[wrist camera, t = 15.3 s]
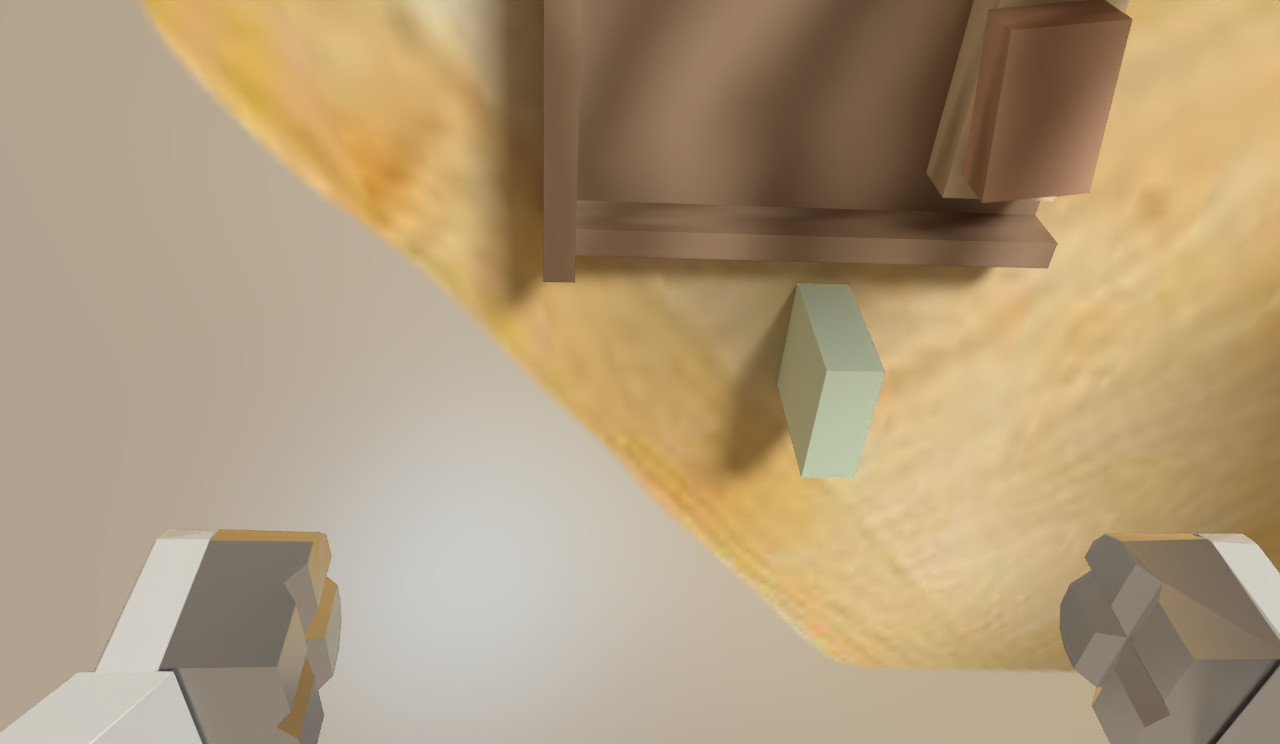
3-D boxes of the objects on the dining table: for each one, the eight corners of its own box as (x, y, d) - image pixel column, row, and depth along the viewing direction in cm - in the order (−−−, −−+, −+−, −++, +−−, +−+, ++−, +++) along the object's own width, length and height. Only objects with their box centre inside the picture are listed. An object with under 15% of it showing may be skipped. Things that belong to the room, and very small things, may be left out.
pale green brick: (848, 284, 43) (885, 372, 38) (824, 385, 47) (854, 478, 42) (797, 282, 43) (826, 371, 38) (776, 384, 47) (801, 477, 41)
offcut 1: (1103, -23, 34) (1130, -5, 33) (1032, 176, 39) (1053, 201, 38) (982, -30, 34) (1003, -12, 32) (926, 172, 39) (942, 197, 37)
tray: (1146, -116, 33) (1222, -82, 29) (1021, 232, 42) (1067, 294, 38) (547, -154, 31) (543, -123, 27) (546, 217, 40) (543, 281, 36)
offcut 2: (1102, -2, 33) (1132, 18, 31) (1064, 166, 37) (1089, 193, 35) (988, 9, 33) (1011, 30, 31) (962, 176, 37) (982, 202, 35)
